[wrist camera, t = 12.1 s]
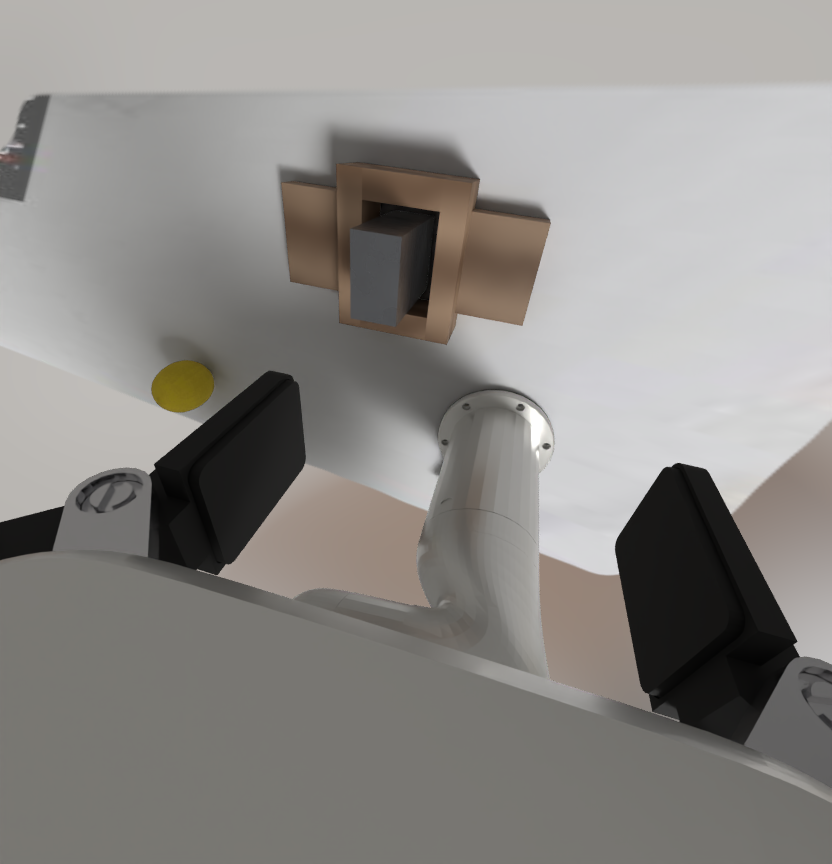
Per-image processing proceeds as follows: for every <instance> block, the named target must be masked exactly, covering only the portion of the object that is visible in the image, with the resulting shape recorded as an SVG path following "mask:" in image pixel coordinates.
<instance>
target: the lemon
mask: <svg viewBox="0 0 832 864" xmlns="http://www.w3.org/2000/svg"><path fill="white" fill-rule="evenodd" d="M213 389H214V379H213V376H212V374H211V372H210V371H209V370H208V369H207V368H206V367H205V366H204V365H202V364H200V363H198V362H195V361H188V360H184V361H178V362H175V363H172V364H170V365H168V366H167V367H165V368H164V369H162V370H161V371H160V372H159V373H158V374H157V376H156V377H155V379H154V380H153V383H152V388H151V390H152V395H153V398H154V400H155V401H156V402H157V404H158V405H159V406H161V407H162V408H164V409H166V410H168V411H171V412H186V411H190V410H193V409H195V408H197V407H199V406H201V405H202V404H203V403H204V402H206V401H207V400H208V399H209V397H210V396H211V394H212V392H213Z"/></svg>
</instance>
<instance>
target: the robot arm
mask: <svg viewBox="0 0 832 864" xmlns="http://www.w3.org/2000/svg"><path fill="white" fill-rule="evenodd" d="M466 403H467V404H466ZM519 404H522V405H519ZM438 442H439V447H440V450H441V452H442V455H443V457H444V461H443V464H442V468H441V471H440V474H439V477H438V481H437V484H436V487H435V490H434V494H433V497H432V500H431V503H430V507H429V510H428V513H427V516H426V520H425V523H424V526H423V530H422V533H421V536H420V540H419V543H418V549H417V559H416V562H417V571H418V575H419V580H420V583H421V586H422V588H423V591H424V593H425V595H426V598H427V600H428V602H429V604H430V606H431V608H428V607H423V606H417V605H408V604H404V603H399V602H395V601H390V600H385V599H381V598H376V597H373V596H368V595H364V594H359V593H353V592H348V591H343V590H336V589H327V588H321V589H313V590H308V591H305V592H303V593H301V594H299V595H297V596H295V597H294V598H293V599H290V598H287V597H284V596H280V595H277V594H274V593H271V592H268V591H264V590H261V589H257V588H255V587H251V586H248V585H244V584H242V583H238V582H235V581H232V580H228V579H225V578H221V577H218V576H214V575H211V574H215V575H218V574H219V572H220V571H221V570H222V568H223V567H224V566H225V564H231V563H232V562H234V560H235V559H236V558H237V557H238V555H239V554H240V552H241V551H242V550H243V549H244V547H245V546H246V544H247V543H248V542H249V540H250V539H251V538H252V536H253V535H254V534H255V532H256V531H257V530H258V528H259V527H260V526H261V524H262V523H263V522H264V520H265V519H266V517H267V516H268V515H269V513H270V512H271V511H272V509H273V508H274V507H275V505H276V504H277V503H278V501H279V500H280V499H281V497H282V496H283V494H284V493H285V492H286V491H287V489H288V488H289V486H290V485H291V484H292V482H293V481H294V480H295V478H296V477H297V476H298V474H299V473H300V472H301V470H302V469H303V467H304V464H305V460H306V455H305V445H304V434H303V424H302V413H301V403H300V392H299V385H298V383H297V382H295V381H294V379H293V377H292V376H291V375H288V374H284V373H279V372H275V371H268V372H266V373H265V374H264V375H262V376H261V377H260V378H259V379H258V380H256V381H255V382H254V383H253V384H251V385H250V386H249V387H248V388H247V389H245V390H244V391H243V392H242V393H240V394H239V395H238V396H237V397H236V398H234V399H233V400H232V401H231V402H229V403H228V404H227V405H226V406H225V407H223V408H222V409H221V410H220V411H218V412H217V413H216V414H215V415H214V416H212V417H211V418H210V419H209V420H207V421H206V422H205V423H204V424H202V425H201V426H200V427H199V428H198V429H196V430H195V431H194V432H193V433H191V434H190V435H189V436H188V437H187V438H185V439H184V440H183V441H182V442H180V444H178V445H177V446H176V447H174V448H173V449H172V450H171V451H170V452H168V453H167V454H166V455H165V456H163V457H162V458H161V459H160V460H158V461H157V462H156V463H155V464H154V466H155V468H156V469H155V470H154V471H153V472H152V473H150V475H148V474H147V473H146V472H145V471H141V470H139V469H136V468H119V469H112V470H108V471H105V472H101V473H99V474H97V475H94V476H92V477H90V478H88V479H86V480H85V481H83V482H82V483H80V484H79V485H78V486H77V487H76V488H75V489H74V490H73V491H72V492H71V493H70V494H69V496H68V498H67V500H66V502H65V506H62V507H58V508H54V509H50V510H47V511H43V512H39V513H35V514H31V515H27V516H23V517H19V518H16V519H12V520H8V521H4V522H0V864H832V665H831V664H829V663H827V662H824V661H822V660H820V659H815V658H810V657H800V656H799V654H798V653H797V651H796V649H795V647H794V645H793V644H795V643H796V642H797V640H796V638H795V636H794V634H793V632H792V631H791V629H790V626H789V624H788V623H787V621H786V619H785V617H784V615H783V613H782V611H781V610H780V607H779V605H778V604H777V602H776V600H775V598H774V596H773V594H772V592H771V590H770V588H769V586H768V585H767V582H766V581H765V579H764V577H763V575H762V573H761V571H760V569H759V567H758V565H757V563H756V562H755V560H754V558H753V556H752V554H751V552H750V550H749V548H748V546H747V545H746V542H745V541H744V539H743V537H742V535H741V533H740V531H739V529H738V528H737V525H736V523H735V522H734V520H733V518H732V516H731V514H730V512H729V510H728V508H727V506H726V504H725V502H724V501H723V499H722V497H721V495H720V493H719V491H718V489H717V487H716V485H715V483H714V482H713V480H712V478H711V476H710V474H709V472H708V471H707V470H706V469H703V468H699V467H695V466H690V465H686V464H681V463H676V464H674V465H673V466H672V467H665V468H664V469H663V470H662V471H661V473H660V474H659V476H658V477H657V479H656V480H655V482H654V483H653V485H652V486H651V488H650V489H649V491H648V492H647V494H646V495H645V497H644V498H643V500H642V501H641V503H640V504H639V506H638V507H637V509H636V510H635V512H634V513H633V515H632V517H631V518H630V520H629V521H628V523H627V524H626V526H625V527H624V529H623V530H622V532H621V533H620V535H619V536H618V538H617V541H616V545H615V553H616V558H617V563H618V569H619V574H620V579H621V585H622V590H623V595H624V600H625V605H626V611H627V616H628V622H629V627H630V632H631V637H632V643H633V648H634V653H635V658H636V664H637V669H638V674H639V680H640V684H641V687H642V689H643V691H644V692H645V693H648V694H649V697H650V702H651V707H652V712H655V713H658V714H662V715H665V716H668V717H671V718H675V719H678V720H680V722H677V721H674V720H671V719H669V718H666V717H663V716H659V715H657V714H654V713H651V712H648V711H645V710H642V709H639V708H636V707H633V706H630V705H627V704H624V703H621V702H617V701H615V700H612V699H609V698H605V697H602V696H599V695H596V694H593V693H590V692H587V691H583V690H580V689H577V688H574V687H571V686H567V685H564V684H561V683H558V682H555V681H552V680H550V678H549V672H548V666H547V660H546V654H545V648H544V642H543V633H542V625H541V612H540V594H539V473H540V472H541V471H543V470H544V469H545V467H546V466H547V465H548V463H549V462H550V460H551V457H552V455H553V452H554V444H555V442H554V432H553V428H552V425H551V423H550V421H549V419H548V417H547V416H546V414H545V413H544V412H543V411H542V409H541V408H539V407H538V406H537V405H536V404H535V403H533V402H532V401H530V400H528V399H527V398H525V397H523V396H521V395H518V394H515V393H512V392H507V391H501V390H485V391H479V392H475V393H472V394H469V395H466V396H464V397H463V398H461V399H459V400H458V401H456V402H455V403H454V404H453V405H452V406H451V407H450V408H449V409H448V410H447V412H446V413H445V414H444V417H443V419H442V421H441V424H440V428H439V431H438ZM197 569H199V570H202V571H205V572H208V573H211V574H207V573H204V572H200V571H197Z"/></svg>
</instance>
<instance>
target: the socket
mask: <svg viewBox="0 0 832 864" xmlns="http://www.w3.org/2000/svg"><path fill="white" fill-rule="evenodd" d="M336 178H337V188H336V187H329V186H323V185H316V184H310V183H303V182H296V181H290V182H282V183H281V185H282V196H283V207H284V217H285V228H286V239H287V250H288V260H289V271H290V282H295V283H300V284H305V285H311V286H316V287H321V288H326V289H332V290H337V291H339V323H342V324H347V325H352V326H357V327H362V328H367V329H371V330H376V331H381V332H386V333H391V334H396V335H401V336H406V337H411V338H416V339H421V340H426V341H431V342H436V343H441V344H446V345H447V343H448V340H449V338H450V336H451V334H452V332H453V330H454V328H455V325H456V319H457V313H458V314H463V315H468V316H474V317H479V318H484V319H489V320H495V321H500V322H505V323H511V324H516V325H521V326H522V325H523V321H524V318H525V314H526V311H527V307H528V303H529V300H530V296H531V293H532V289H533V285H534V282H535V278H536V274H537V271H538V267H539V264H540V260H541V256H542V253H543V249H544V246H545V242H546V238H547V235H548V231H549V228H550V224H551V223H550V220H548V219H542V218H535V217H529V216H522V215H515V214H509V213H502V212H495V211H489V210H482V209H475V206H476V200H477V194H478V188H479V182H480V179H475V178H468V177H461V176H453V175H446V174H439V173H432V172H425V171H418V170H410V169H403V168H396V167H389V166H382V165H375V164H368V163H360V162H356V163H342V164H336ZM381 203H386V204H393V205H399V206H406V207H412V208H419V209H426V210H432V211H439V212H440V215H439V224H438V232H437V240H436V248H435V257H434V265H433V273H432V281H431V290H430V298H429V300H424V299H418V300H417V301H416V302H415V304H414V305H413V306H412V307H411V309H410V310H409V311H408V312H407V314H406V315H405V316H404V317H403V319H402V320H401V321H400V322H399V324H398V325H397V326H396V327H393V326H388V325H383V324H378V323H372V322H367V321H362V320H357V319H352V318H351V316H350V228H353V227H355V226H358V225H360V224H362V223H365V222H367V221H369V220H372V219H374V218H377V217H379V216H380V208H381Z"/></svg>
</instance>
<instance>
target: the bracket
mask: <svg viewBox="0 0 832 864" xmlns="http://www.w3.org/2000/svg"><path fill="white" fill-rule="evenodd" d="M434 218H435V216H432V215H425V214H419V213H412V212H405V211H399V210H393V211H391V212H389V213H386V214H384V215H381V216H379V217H377V218H374V219H372V220H369V221H367V222H365V223H362V224H360V225H358V226H355V227H353V228H350V316H351V318H352V319H357V320H362V321H367V322H372V323H378V324H383V325H388V326H393V327H396V326H397V325H398V324H399V322H400V321H401V320H402V319H403V317H404V316H405V315H406V314H407V312H408V311H409V310H410V309H411V307H412V306H413V305H414V304H415V302H416V301H417V300H418V299H419V298H420V296H421V295H422V294H423V293H424V291H425V290H426V289H427V282H428V273H429V264H430V255H431V246H432V236H433V227H434Z"/></svg>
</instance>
